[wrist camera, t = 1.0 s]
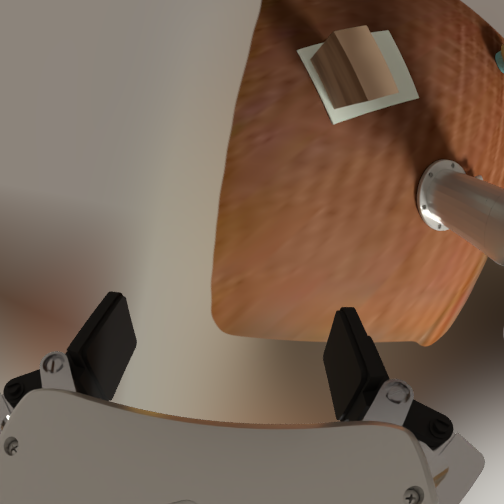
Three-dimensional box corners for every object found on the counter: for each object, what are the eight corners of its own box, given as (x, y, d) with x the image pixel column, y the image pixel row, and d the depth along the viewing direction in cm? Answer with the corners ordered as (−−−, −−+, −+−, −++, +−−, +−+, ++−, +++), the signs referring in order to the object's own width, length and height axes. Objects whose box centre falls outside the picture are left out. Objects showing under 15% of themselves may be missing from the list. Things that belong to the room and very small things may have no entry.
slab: (335, 52, 28) (367, 25, 17) (359, 101, 31) (400, 92, 20) (309, 59, 29) (333, 31, 18) (334, 109, 32) (368, 101, 21)
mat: (387, 31, 26) (388, 30, 26) (417, 98, 31) (419, 98, 30) (296, 50, 29) (297, 49, 29) (332, 124, 34) (333, 124, 33)
